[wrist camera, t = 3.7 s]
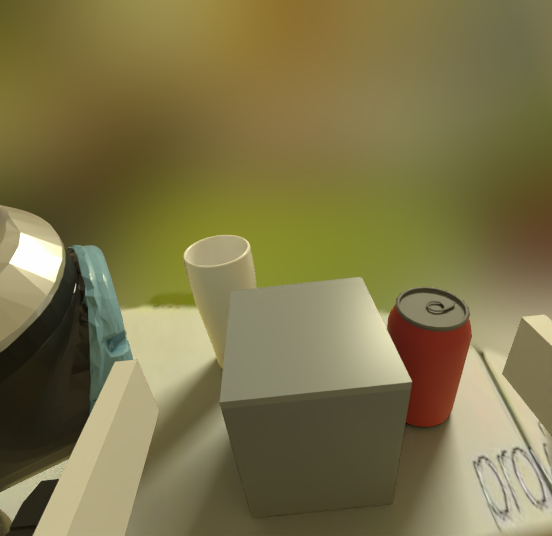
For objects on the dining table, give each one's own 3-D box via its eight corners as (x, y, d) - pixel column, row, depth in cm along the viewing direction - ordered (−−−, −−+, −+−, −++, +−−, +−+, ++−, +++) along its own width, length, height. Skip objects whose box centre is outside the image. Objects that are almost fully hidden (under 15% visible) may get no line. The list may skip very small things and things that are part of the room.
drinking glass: (200, 368, 41) (167, 259, 33) (233, 332, 45) (211, 230, 38) (247, 388, 37) (223, 273, 30) (277, 347, 42) (263, 239, 35)
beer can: (465, 424, 32) (496, 325, 25) (396, 436, 31) (411, 339, 25) (430, 369, 37) (448, 278, 31) (371, 379, 37) (377, 288, 31)
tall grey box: (252, 518, 27) (219, 402, 19) (253, 399, 36) (231, 290, 29) (392, 503, 27) (412, 381, 19) (356, 388, 36) (361, 276, 29)
